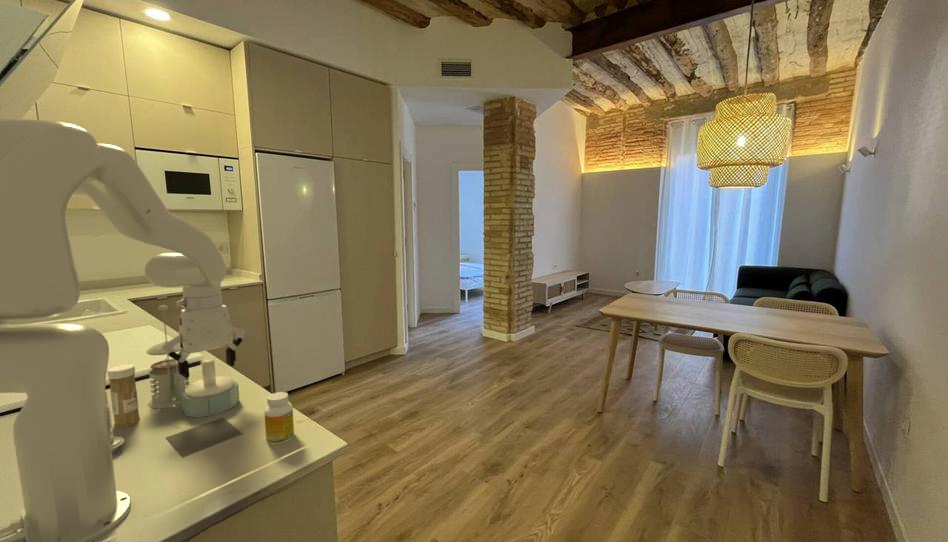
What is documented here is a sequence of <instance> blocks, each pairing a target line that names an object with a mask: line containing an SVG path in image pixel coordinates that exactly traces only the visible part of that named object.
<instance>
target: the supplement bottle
mask: <svg viewBox="0 0 948 542" xmlns="http://www.w3.org/2000/svg"><path fill="white" fill-rule="evenodd" d="M266 400H267V401H266V404H267V406H266V407H265V409H264V411H263V412H264V425H265V426H264V428H265V441H266V443H268V444H270V445H280V444H284V443H286V442H288V441H290V440H292V439H293V438H294V435H295V427H294V425H295V424H294V410H293V409H294V408H293V404H292V403H291V401H290V400H289V394H288V392H286V391H285V392H284V391H279V392H278V391H277V392H274V393H271V394H269V395H268V396H267V399H266Z"/></svg>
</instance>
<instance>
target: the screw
mask: <svg viewBox="0 0 948 542" xmlns="http://www.w3.org/2000/svg"><path fill="white" fill-rule="evenodd" d="M105 397H106V408H107V417H108V426H109V434H110V442H111V451H112V454H114V453H116V452H117V451H118V449H119V447H120V446H122V445H123V444H124V443H125V437H122V436H117V435H115V436H114V433H113V432H114V429H113V426H114V424H113V422H112V421H113V420H112V418H113V417H112V411H111V405H110V402H109V401H108V394H107V392H106V391H105Z"/></svg>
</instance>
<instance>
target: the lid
mask: <svg viewBox="0 0 948 542" xmlns="http://www.w3.org/2000/svg"><path fill="white" fill-rule="evenodd" d="M215 365H216V363H215V359H213V358H212V359H209V358H208V359H204V360H202V361H201V369H202V370H201V371H202V379H200V380H195V381H194V382H191V383H189V385H188V386H187V385H186V386H187V387H186V386H185V387H186V388H185V395H186V396H188V397H195V398H198V397H208V396H213V395H217V394H220V393H223V392H225V391H227V390H229V389H231V388H232V387H233V386H234V381H235V380H234V378H232V377H229V376H223V375H222V376H217V375H216V366H215Z"/></svg>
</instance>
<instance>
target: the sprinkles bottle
mask: <svg viewBox="0 0 948 542" xmlns="http://www.w3.org/2000/svg"><path fill="white" fill-rule="evenodd" d="M106 373H107V378H108V380H109V387H110V388H109V389H110V399H111V408H112V413H113V420H114V424H113V426H114V427H115V428H125V427H129V426H132V425H134V424H136V423H138V422H139V421H140V420H141V418H140V413H139V402H138V401H139V399H138V391H137V386H136V377H135V374H136V368H135V364H121V365H117V366H113V367H110V368H109V369H107V372H106Z"/></svg>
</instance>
